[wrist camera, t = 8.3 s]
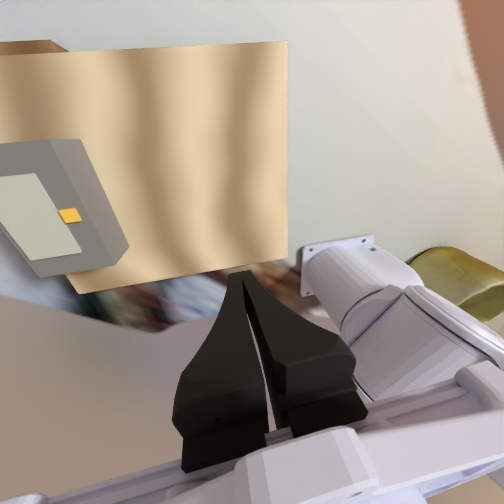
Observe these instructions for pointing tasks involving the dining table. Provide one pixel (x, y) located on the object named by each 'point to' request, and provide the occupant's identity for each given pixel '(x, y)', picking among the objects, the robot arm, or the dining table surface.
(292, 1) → the dining table surface
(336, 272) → the robot arm
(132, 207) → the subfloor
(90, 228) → the block
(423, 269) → the mug
